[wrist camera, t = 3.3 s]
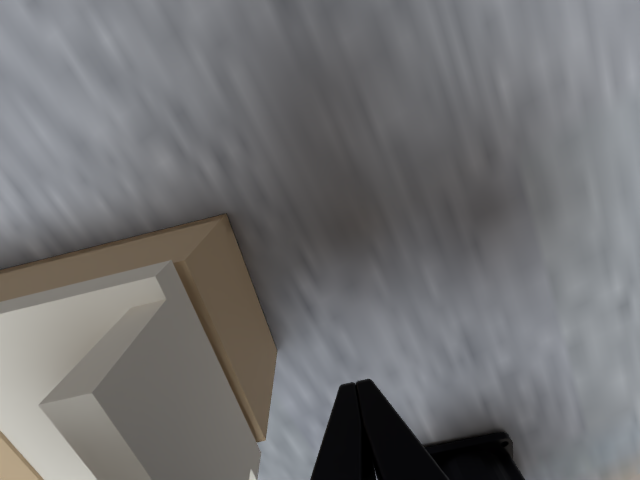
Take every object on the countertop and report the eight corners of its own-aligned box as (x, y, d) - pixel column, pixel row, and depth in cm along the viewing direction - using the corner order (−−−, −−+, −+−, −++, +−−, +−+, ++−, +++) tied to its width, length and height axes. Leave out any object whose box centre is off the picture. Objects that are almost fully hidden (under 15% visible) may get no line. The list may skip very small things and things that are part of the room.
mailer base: (226, 213, 14) (184, 260, 9) (277, 351, 17) (265, 440, 12) (-96, 294, 15) (-285, 374, 10) (6, 412, 17) (-104, 518, 13)
